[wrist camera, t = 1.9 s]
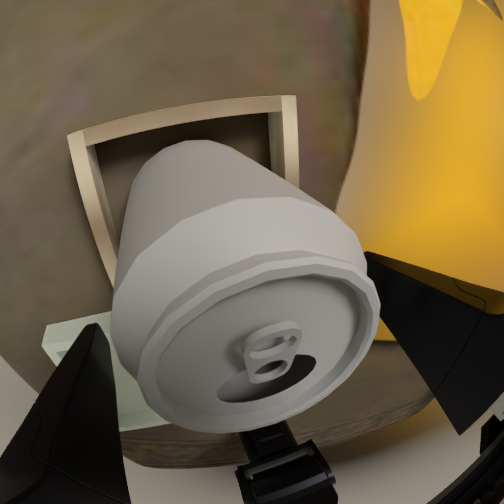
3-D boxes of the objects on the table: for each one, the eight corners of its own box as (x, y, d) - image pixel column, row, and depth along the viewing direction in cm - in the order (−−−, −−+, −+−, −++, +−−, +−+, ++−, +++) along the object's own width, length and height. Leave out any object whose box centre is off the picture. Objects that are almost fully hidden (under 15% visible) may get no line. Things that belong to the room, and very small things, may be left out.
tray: (238, 387, 26) (244, 404, 24) (115, 414, 23) (116, 431, 21) (216, 285, 19) (224, 304, 18) (46, 325, 16) (41, 345, 14)
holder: (286, 261, 20) (298, 277, 19) (128, 301, 18) (128, 321, 16) (279, 95, 14) (295, 95, 13) (77, 131, 12) (67, 135, 10)
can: (146, 272, 17) (171, 463, 7) (114, 154, 13) (34, 295, 3) (260, 244, 19) (371, 393, 9) (250, 127, 15) (432, 199, 5)
